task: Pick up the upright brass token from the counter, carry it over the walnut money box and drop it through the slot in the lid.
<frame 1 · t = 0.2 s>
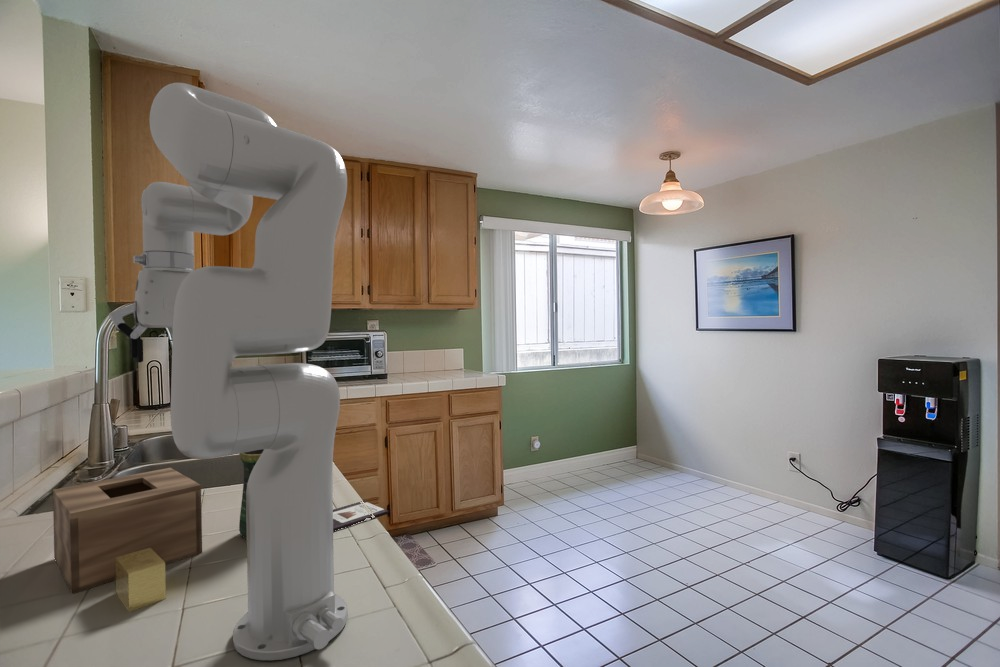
hand: (171, 360, 88), 31 cm above the worktop, tool pointing down, fingers open, 9 cm apart
token: (140, 596, 66), on the worktop
money box: (128, 555, 79), on the worktop
coffee jar: (271, 532, 88), on the worktop
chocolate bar: (333, 524, 92), on the worktop
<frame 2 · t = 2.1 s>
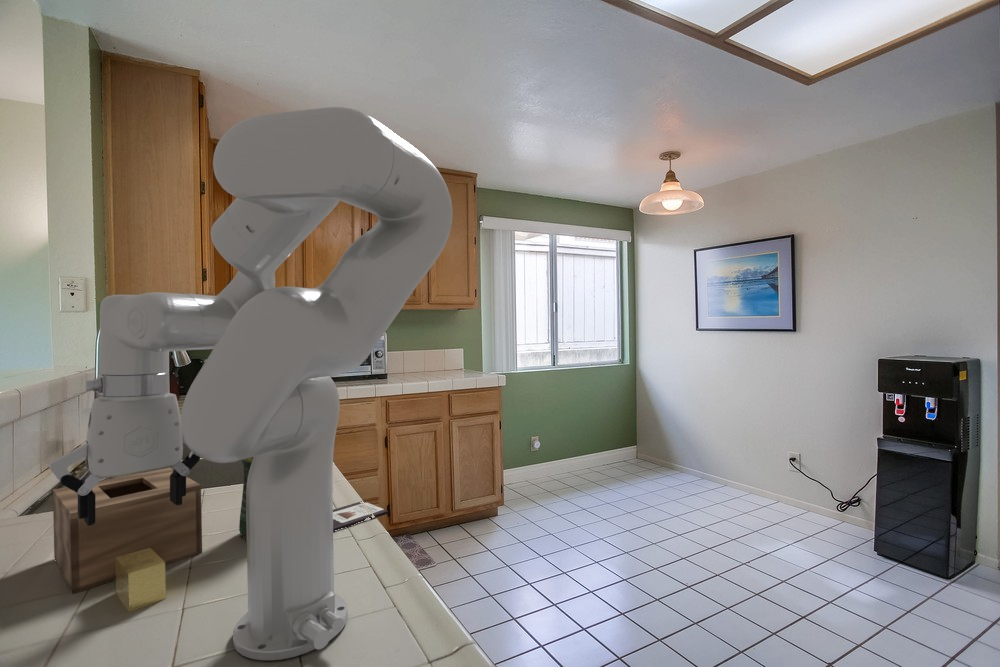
hand: (135, 512, 67), 11 cm above the worktop, tool pointing down, fingers open, 9 cm apart
nothing on the worktop moved.
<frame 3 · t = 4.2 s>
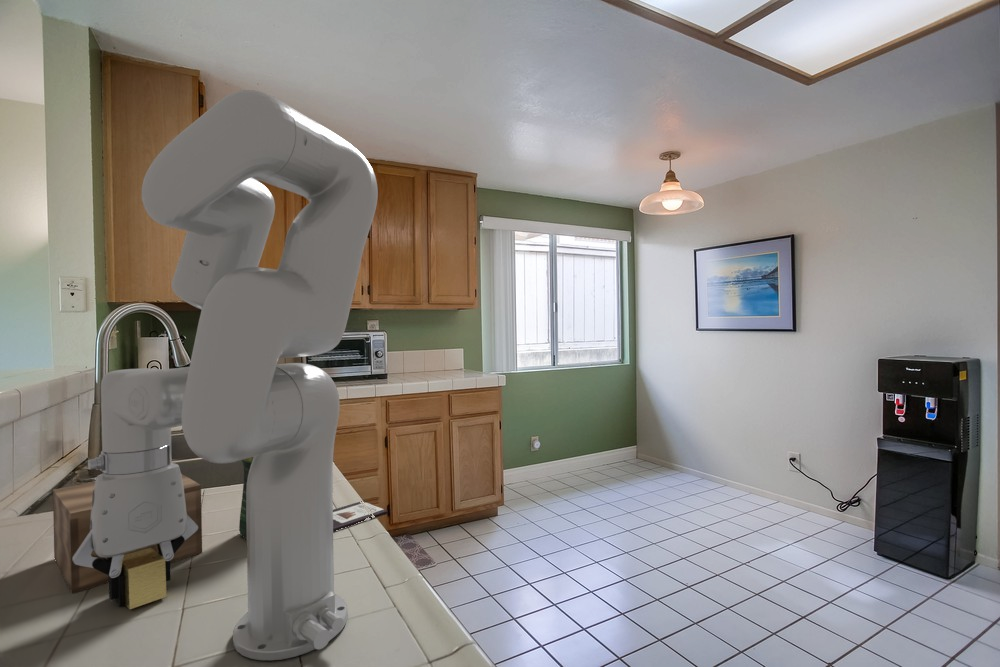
hand: (140, 593, 66), 0 cm above the worktop, tool pointing down, fingers closed on token, 3 cm apart
token: (141, 595, 66), on the worktop, touching gripper
everything else where it was.
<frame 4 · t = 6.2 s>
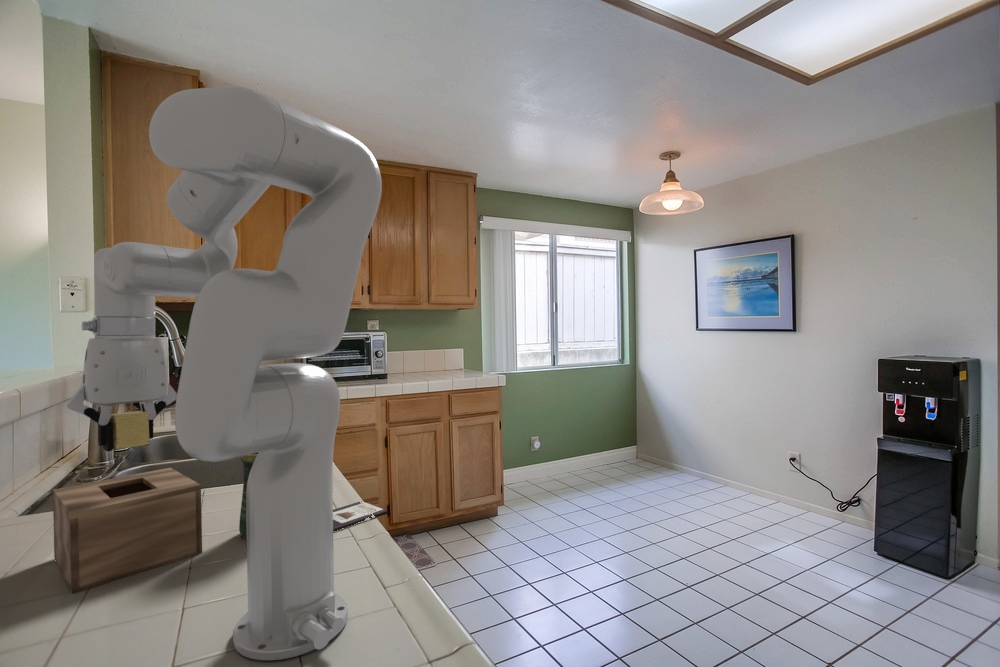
hand: (126, 445, 76), 18 cm above the worktop, tool pointing down, fingers closed on token, 4 cm apart
token: (127, 445, 76), point 18 cm above the worktop, tilted 6°, touching gripper
everything else where it was.
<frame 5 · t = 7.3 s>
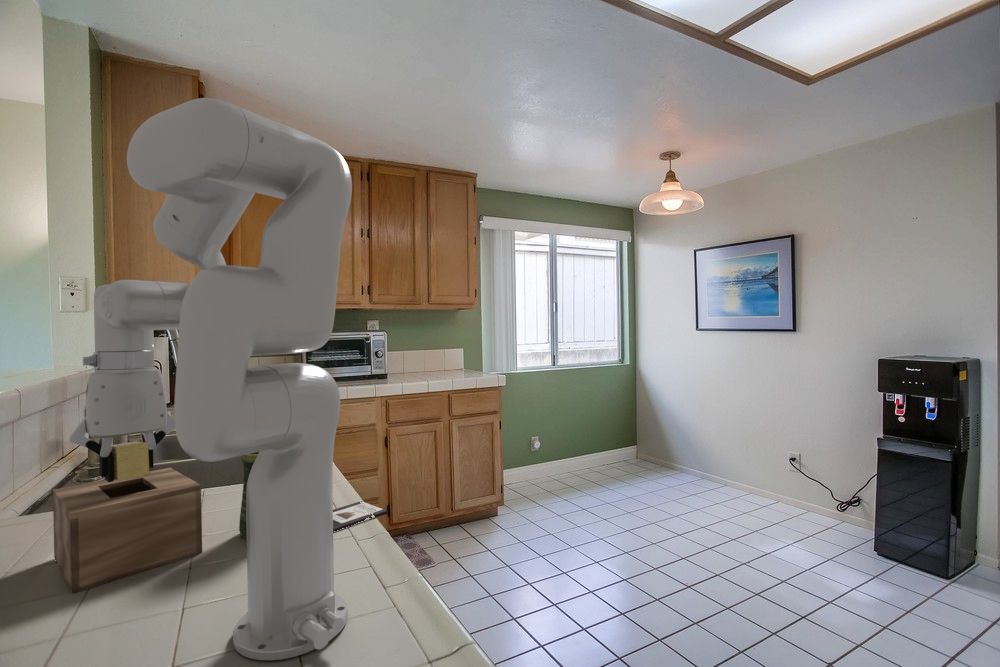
hand: (127, 475, 78), 13 cm above the worktop, tool pointing down, fingers closed on token, 4 cm apart
token: (128, 475, 78), point 13 cm above the worktop, tilted 7°, touching gripper
everything else where it was.
when the fingers open (13 cm above the worktop, at t = 8.2 s): token drops 12 cm, resting on money box.
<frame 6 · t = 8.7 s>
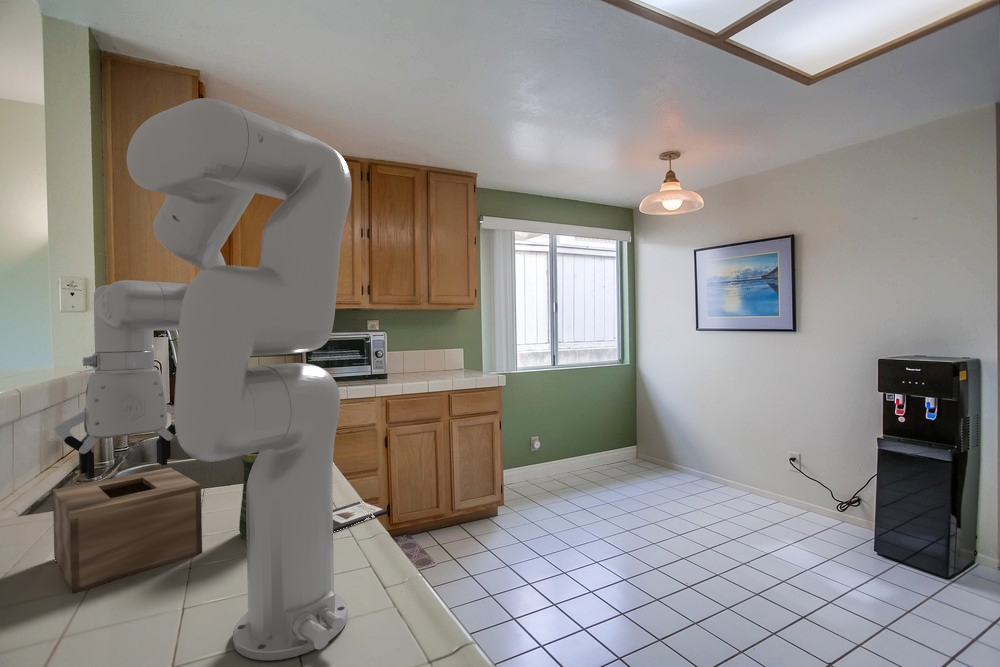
hand: (127, 470, 78), 14 cm above the worktop, tool pointing down, fingers open, 9 cm apart
token: (130, 553, 78), point 1 cm above the worktop, touching money box
everything else where it was.
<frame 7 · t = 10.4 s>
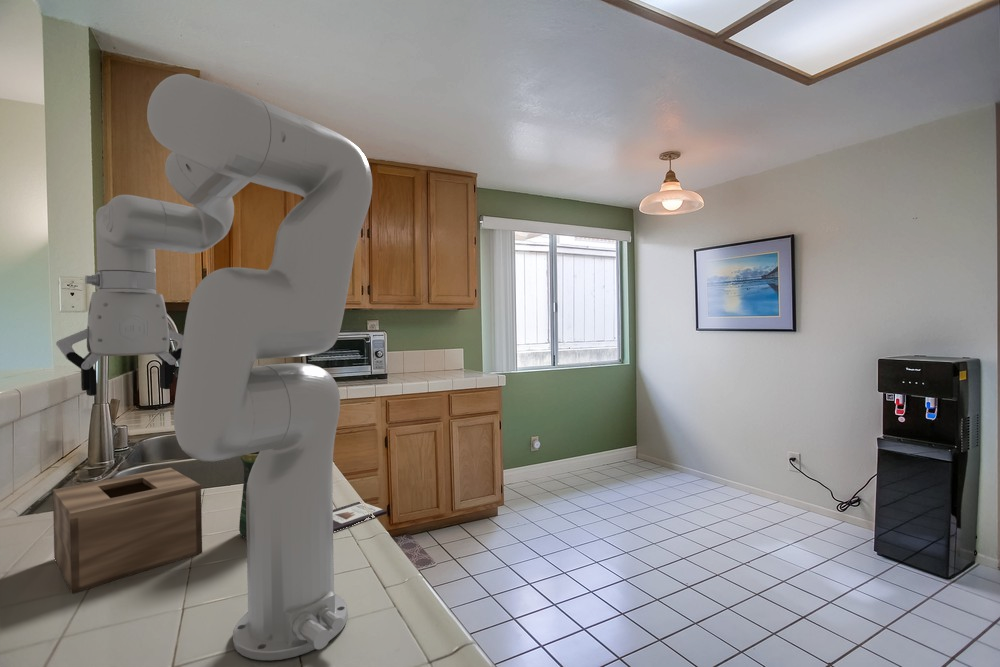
hand: (129, 391, 79), 26 cm above the worktop, tool pointing down, fingers open, 9 cm apart
nothing on the worktop moved.
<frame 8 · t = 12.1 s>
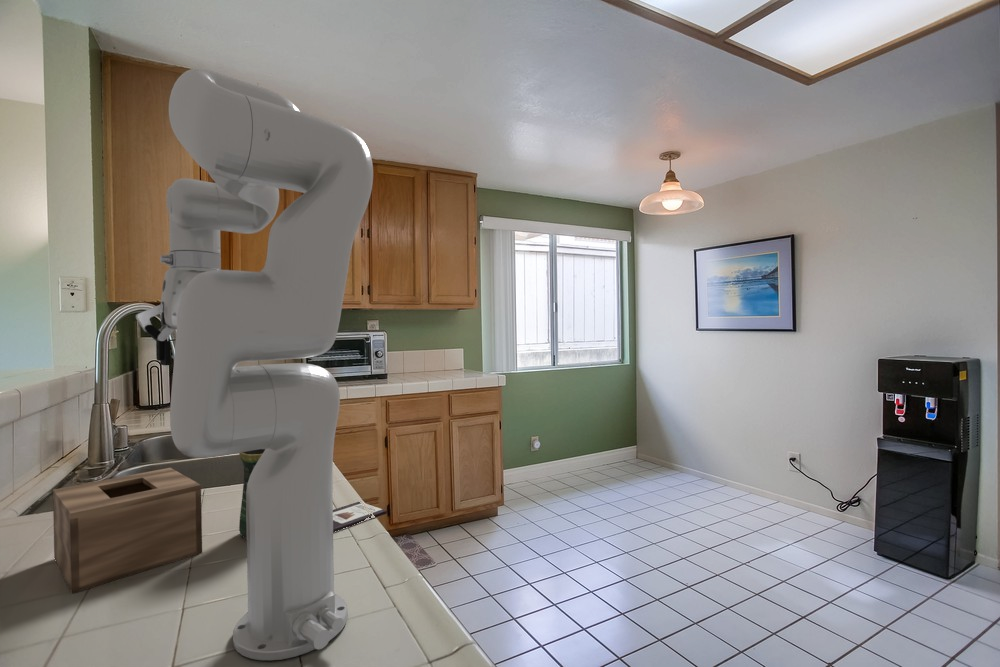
hand: (197, 363, 85), 30 cm above the worktop, tool pointing down, fingers open, 9 cm apart
nothing on the worktop moved.
at the end: token inside the target area on the money box (0.7 cm from its centre), point 0.6 cm above the money box's base; the gripper is holding nothing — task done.
